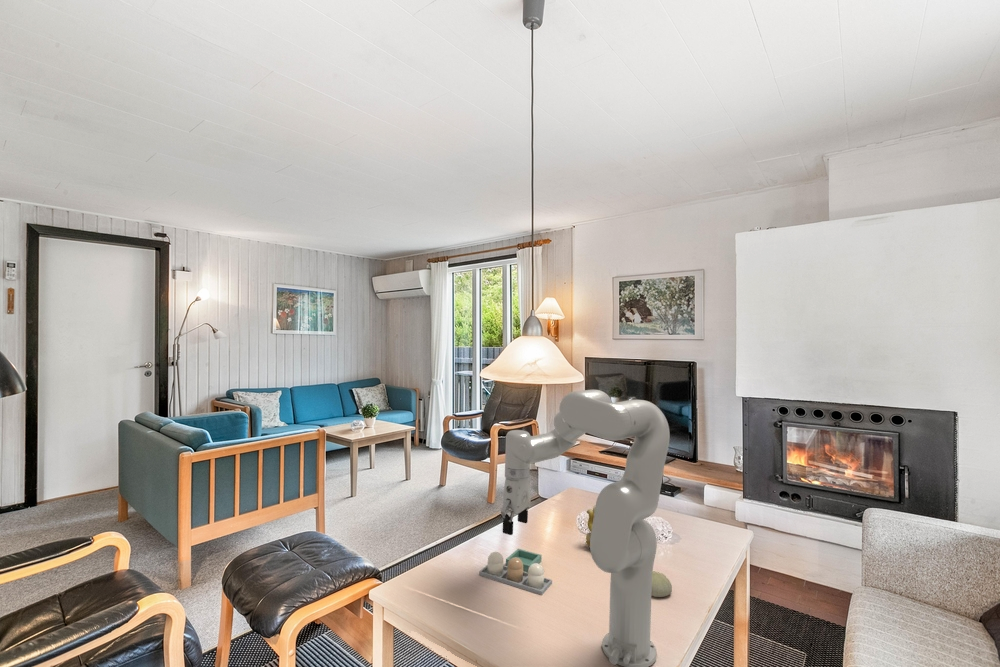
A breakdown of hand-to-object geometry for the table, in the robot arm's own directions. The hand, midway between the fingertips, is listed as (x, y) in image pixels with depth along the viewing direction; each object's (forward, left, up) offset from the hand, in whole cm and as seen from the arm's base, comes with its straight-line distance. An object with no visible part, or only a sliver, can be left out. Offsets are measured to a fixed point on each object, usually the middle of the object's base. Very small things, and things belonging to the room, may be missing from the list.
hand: (515, 527), depth 146 cm
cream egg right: (0, -7, -16) cm, 17 cm away
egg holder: (+10, +2, -16) cm, 19 cm away
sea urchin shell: (+17, -38, -16) cm, 45 cm away
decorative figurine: (+34, -16, -16) cm, 41 cm away
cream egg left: (0, +6, -16) cm, 17 cm away
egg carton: (0, 0, -16) cm, 16 cm away
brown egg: (0, 0, -16) cm, 16 cm away
